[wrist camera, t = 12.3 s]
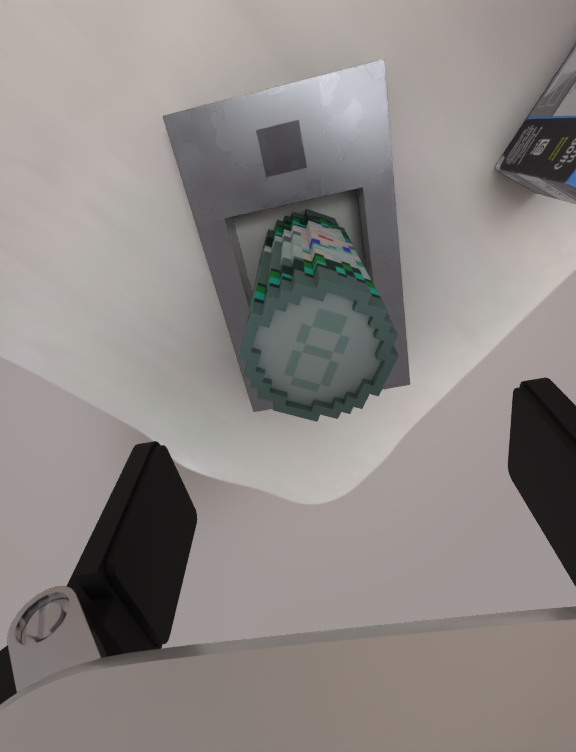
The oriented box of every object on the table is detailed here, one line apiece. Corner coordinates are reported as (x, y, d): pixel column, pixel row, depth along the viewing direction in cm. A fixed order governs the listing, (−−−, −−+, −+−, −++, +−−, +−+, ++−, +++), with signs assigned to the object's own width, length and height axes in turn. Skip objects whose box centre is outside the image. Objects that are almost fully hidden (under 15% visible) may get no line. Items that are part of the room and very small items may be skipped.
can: (362, 228, 29) (421, 310, 16) (331, 308, 32) (360, 432, 19) (276, 199, 28) (266, 261, 15) (252, 284, 31) (226, 398, 18)
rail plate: (373, 66, 25) (384, 58, 22) (400, 365, 34) (410, 385, 32) (175, 116, 26) (162, 115, 23) (256, 391, 36) (253, 412, 33)
